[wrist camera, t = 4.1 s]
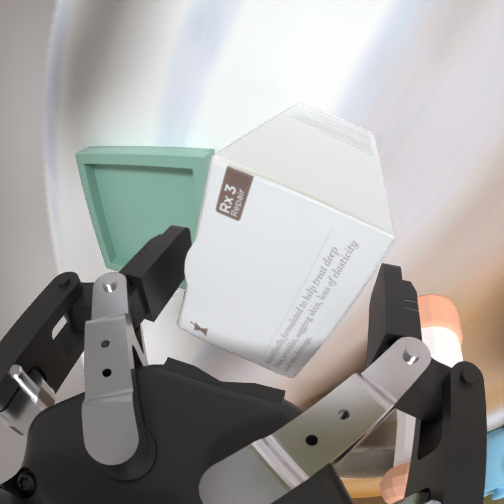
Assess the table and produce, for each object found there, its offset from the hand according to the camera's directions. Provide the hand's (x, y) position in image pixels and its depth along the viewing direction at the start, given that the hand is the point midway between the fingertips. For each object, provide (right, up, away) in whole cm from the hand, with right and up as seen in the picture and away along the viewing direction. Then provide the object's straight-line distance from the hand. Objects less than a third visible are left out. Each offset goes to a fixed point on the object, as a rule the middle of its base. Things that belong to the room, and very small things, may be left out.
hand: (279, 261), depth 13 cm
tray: (-11, +4, +17) cm, 20 cm away
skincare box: (+4, +7, +9) cm, 12 cm away
